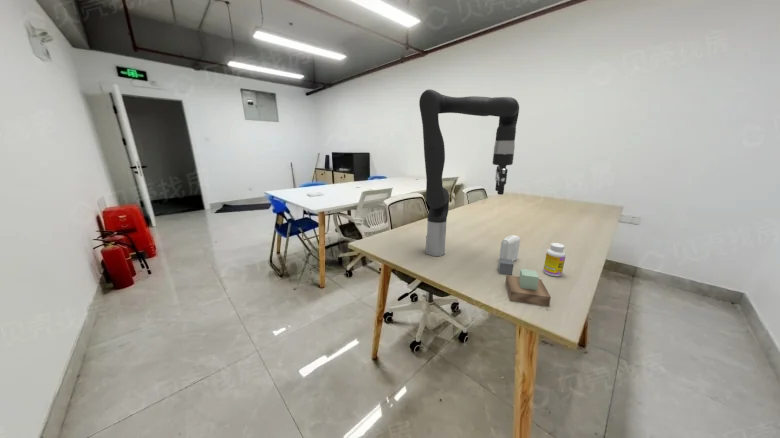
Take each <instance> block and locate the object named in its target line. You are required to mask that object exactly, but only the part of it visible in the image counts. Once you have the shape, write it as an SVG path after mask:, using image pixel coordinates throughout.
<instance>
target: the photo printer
mask: <svg viewBox="0 0 780 438" xmlns="http://www.w3.org/2000/svg"><path fill="white" fill-rule="evenodd" d="M520 244H521V238H520V236H518V235H513V234H512V235H507V236H506V237H505V238H504V239H502V241H501V243H500V250H499V258H502V259H511V260H512V262H513V263H514V262H515V261H517V260H518V259H519V258H518V257H519V250H520Z"/></svg>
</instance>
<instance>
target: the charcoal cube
mask: <svg viewBox="0 0 780 438" xmlns="http://www.w3.org/2000/svg"><path fill="white" fill-rule="evenodd" d="M497 270H498V275H505V276H506V275H509V276H513V270H514V261H513V262H512V260H511V259H502V258H500V257H499V258H498V264H497Z"/></svg>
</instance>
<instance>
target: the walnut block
mask: <svg viewBox="0 0 780 438" xmlns="http://www.w3.org/2000/svg"><path fill="white" fill-rule="evenodd" d="M519 277H520V276H515V275H506V274H505V287H506V291H507V294H508V299H509V301H510V302H511V301H512V302H518V303H524V304H530V305H538V306H544V307H550V303H551V294H549V291H548V289H547V288H546V285H545V284H544V282H543V280H542V279H541V278H539V280H538V286H537V290H531V289H525V288H521V287H520V283H519Z"/></svg>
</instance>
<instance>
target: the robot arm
mask: <svg viewBox="0 0 780 438" xmlns="http://www.w3.org/2000/svg"><path fill="white" fill-rule="evenodd" d="M418 105H419V110H420V117H421V118H420V119H421V124H422V136H423V137H422V138H423V153H424V154H423V155H424V165H425V167H424V168H425V177H426V185H425V186H426V190H425V191H426V192H425V194H426V195H425V200H426V203H427V206H429V211H428V213H427V222H426V223H427V224H426V225H427V226H426V237H425V254H426V255H429V256H433V257H441V256H442V257H443V255H445V254H446V240H447V239H446V238H447V220H448V219H447V218H448V215H449V208H450V207H449V205H450V194H449V192H448V190H447V189H446V188H445V187H443V172H444V167H445V162H446V160H445V159H446V151H445V141H444V137H443V134H442V131H441V128H440V123H439V122H440V121H439V114H461V115H469V116H478V117H488V116H489V117H490V116H492V117H498V127H497V128H496V133H495V142H494V145H493V146H494V147H493V155H492V165H494V166H496V169H495V179H494V180H495V190H494V191H496V192H497V195H504V192H505V186H506V184H507V177H508V171H509V170H508V168H507V166H512V165H513V163H514V155H515V148H516V147H515V146H516V143H515V141H516V134H517V132H516V131H517V124H518V118H519V113H520V104H519V102H518V100H517V99H516V98H514V97H510V96H500V97H499V96H498V97H497V96H495V97H489V96H477V95H474V96H459V97H457V96H450V95H449V96H448V95H445V94H441V93H440V92H438V91H436V90H434V89H431V88H430V89H429V88H428V89H426V90H424V91H423V92H422V93H421V95H420V96H419V103H418Z"/></svg>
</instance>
